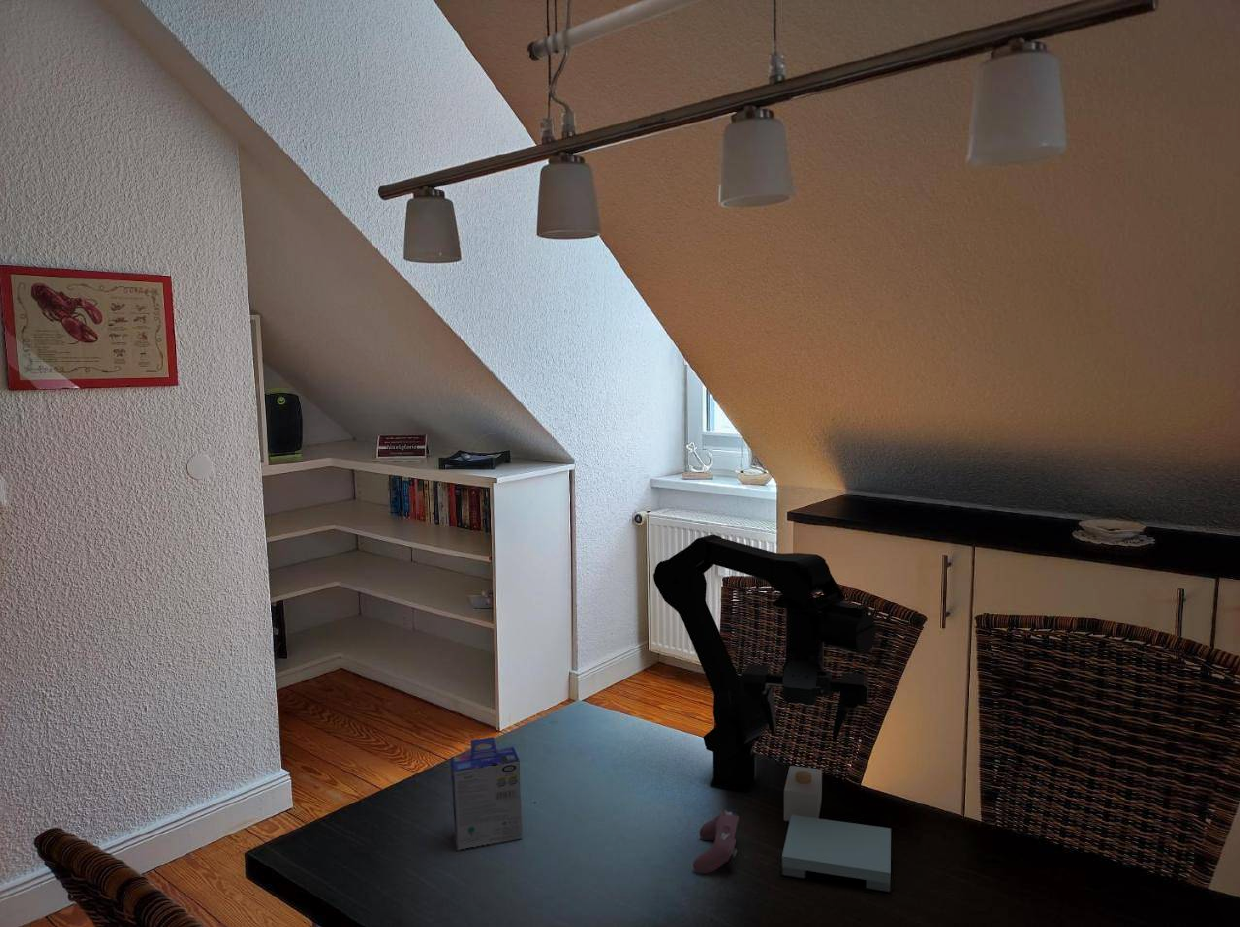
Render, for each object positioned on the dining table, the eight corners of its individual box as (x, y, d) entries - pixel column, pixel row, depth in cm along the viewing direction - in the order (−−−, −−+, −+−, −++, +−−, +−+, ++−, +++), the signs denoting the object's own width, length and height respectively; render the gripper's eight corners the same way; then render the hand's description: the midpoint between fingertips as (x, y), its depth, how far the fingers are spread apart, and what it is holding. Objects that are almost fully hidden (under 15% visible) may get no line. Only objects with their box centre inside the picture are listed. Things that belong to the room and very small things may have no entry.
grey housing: (783, 821, 131) (783, 785, 131) (789, 795, 139) (790, 761, 138) (817, 826, 130) (817, 789, 129) (821, 799, 137) (822, 765, 137)
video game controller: (719, 888, 117) (743, 847, 116) (689, 871, 118) (712, 830, 117) (725, 847, 127) (747, 809, 126) (697, 832, 128) (718, 794, 126)
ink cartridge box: (517, 820, 133) (514, 730, 131) (524, 839, 128) (521, 745, 126) (452, 832, 130) (448, 740, 128) (457, 852, 125) (452, 756, 123)
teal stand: (781, 876, 117) (781, 856, 117) (791, 833, 128) (791, 814, 127) (890, 894, 113) (890, 872, 113) (890, 848, 123) (891, 828, 123)
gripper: (733, 651, 126) (733, 753, 128) (867, 662, 120) (865, 769, 122) (746, 627, 137) (746, 722, 139) (869, 637, 131) (867, 735, 133)
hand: (803, 737), depth 133 cm, fingers open, 9 cm apart
